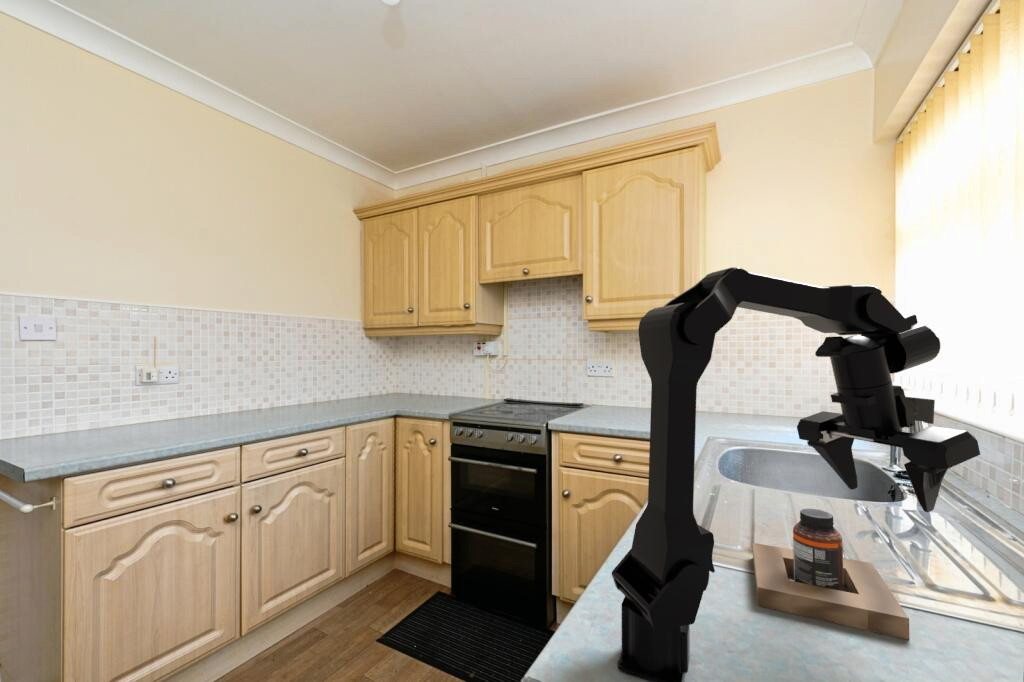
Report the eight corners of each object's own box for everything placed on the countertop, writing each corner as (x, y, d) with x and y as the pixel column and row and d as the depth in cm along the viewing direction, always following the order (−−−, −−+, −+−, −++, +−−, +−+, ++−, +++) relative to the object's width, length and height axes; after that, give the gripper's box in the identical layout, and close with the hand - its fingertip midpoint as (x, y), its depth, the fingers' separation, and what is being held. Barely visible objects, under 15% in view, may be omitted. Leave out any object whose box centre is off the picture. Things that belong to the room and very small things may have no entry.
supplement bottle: (823, 581, 68) (822, 505, 68) (854, 603, 62) (853, 520, 62) (784, 581, 67) (783, 505, 68) (812, 603, 61) (811, 520, 62)
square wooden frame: (757, 605, 61) (757, 587, 61) (752, 557, 75) (752, 542, 75) (909, 639, 54) (909, 618, 54) (872, 579, 68) (871, 563, 68)
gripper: (999, 369, 51) (1026, 501, 51) (841, 365, 69) (863, 463, 69) (928, 396, 48) (958, 535, 49) (784, 384, 66) (806, 485, 67)
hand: (888, 498), depth 58 cm, fingers open, 9 cm apart
